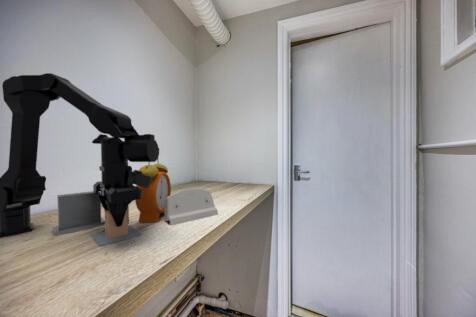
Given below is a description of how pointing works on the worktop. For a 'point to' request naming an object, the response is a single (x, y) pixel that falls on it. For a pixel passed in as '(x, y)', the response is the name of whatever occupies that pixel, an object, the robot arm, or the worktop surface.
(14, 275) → the worktop surface
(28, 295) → the worktop surface
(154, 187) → the alarm clock
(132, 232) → the mat
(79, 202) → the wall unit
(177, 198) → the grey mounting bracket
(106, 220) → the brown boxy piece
